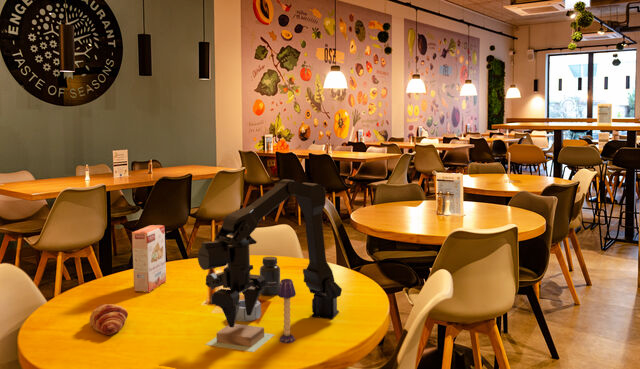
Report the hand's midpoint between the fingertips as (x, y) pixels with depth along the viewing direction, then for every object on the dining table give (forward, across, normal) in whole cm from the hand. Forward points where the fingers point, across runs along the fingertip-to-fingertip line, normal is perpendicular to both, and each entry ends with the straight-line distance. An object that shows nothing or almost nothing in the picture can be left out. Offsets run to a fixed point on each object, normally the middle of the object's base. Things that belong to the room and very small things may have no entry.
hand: (240, 321), depth 147 cm
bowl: (+6, -16, -7) cm, 18 cm away
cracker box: (+6, -33, -54) cm, 63 cm away
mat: (+6, 0, 0) cm, 6 cm away
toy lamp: (+6, -3, +12) cm, 14 cm away
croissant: (+6, +2, -41) cm, 42 cm away
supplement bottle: (+6, -40, -11) cm, 42 cm away
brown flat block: (+5, 0, 0) cm, 5 cm away
